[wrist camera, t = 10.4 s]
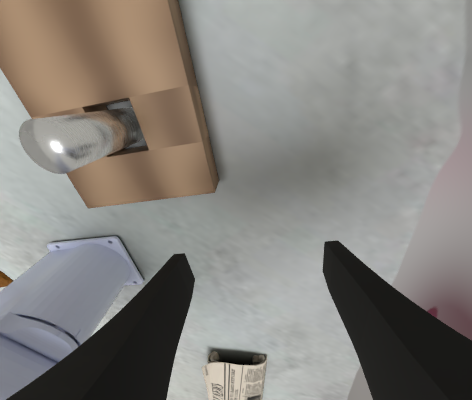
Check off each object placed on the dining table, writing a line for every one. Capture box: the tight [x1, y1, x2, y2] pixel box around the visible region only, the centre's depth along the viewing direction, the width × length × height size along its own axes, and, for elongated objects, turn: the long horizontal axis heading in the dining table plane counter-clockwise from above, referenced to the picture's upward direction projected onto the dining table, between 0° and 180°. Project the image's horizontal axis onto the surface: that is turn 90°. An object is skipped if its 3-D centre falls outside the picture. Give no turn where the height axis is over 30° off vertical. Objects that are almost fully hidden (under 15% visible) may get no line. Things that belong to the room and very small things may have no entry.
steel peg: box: [19, 107, 145, 174], centre depth 13 cm, size 3×3×8 cm
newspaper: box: [202, 351, 267, 400], centre depth 41 cm, size 35×12×4 cm, turn 1°
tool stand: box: [0, 0, 219, 208], centre depth 13 cm, size 12×22×2 cm, turn 10°
